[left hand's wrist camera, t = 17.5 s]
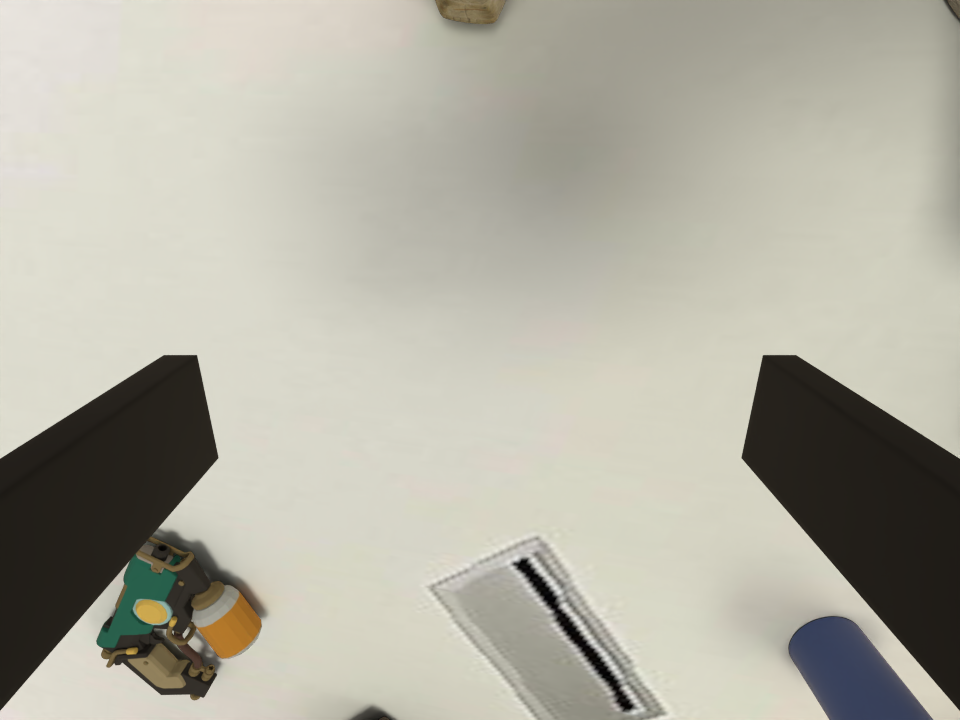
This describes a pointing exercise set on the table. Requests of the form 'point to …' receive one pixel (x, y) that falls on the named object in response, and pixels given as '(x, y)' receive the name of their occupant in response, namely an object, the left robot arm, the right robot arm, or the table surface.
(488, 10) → the sculpture
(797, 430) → the left robot arm
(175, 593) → the spray gun
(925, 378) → the table surface
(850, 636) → the canister
